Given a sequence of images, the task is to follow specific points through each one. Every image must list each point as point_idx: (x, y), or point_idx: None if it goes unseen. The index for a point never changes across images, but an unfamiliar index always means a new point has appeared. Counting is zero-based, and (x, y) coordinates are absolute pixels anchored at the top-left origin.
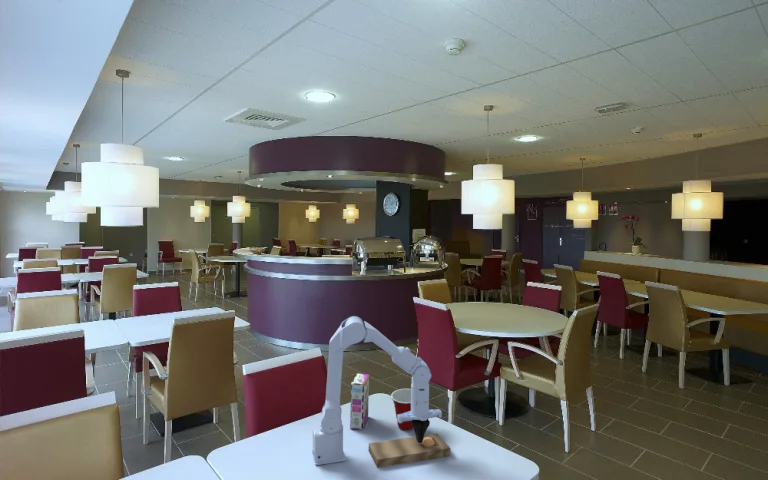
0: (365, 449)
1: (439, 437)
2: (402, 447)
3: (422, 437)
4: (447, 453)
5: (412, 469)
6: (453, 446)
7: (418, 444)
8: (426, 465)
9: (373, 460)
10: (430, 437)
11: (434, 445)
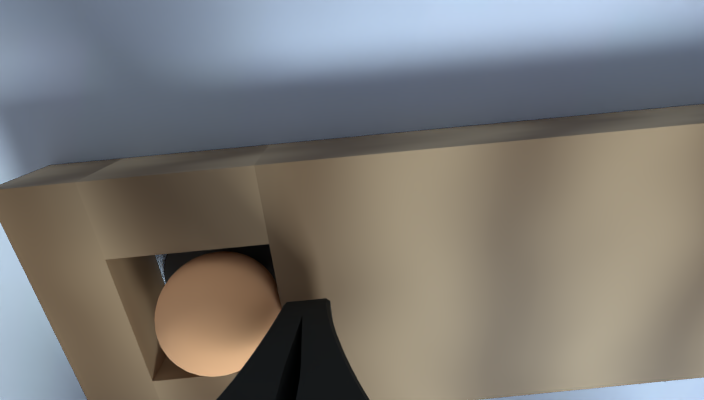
0: None
1: (94, 379)
2: (491, 277)
3: (279, 336)
4: (60, 171)
5: (462, 7)
6: (10, 296)
7: None
8: (310, 50)
9: None
10: (177, 359)
11: None
